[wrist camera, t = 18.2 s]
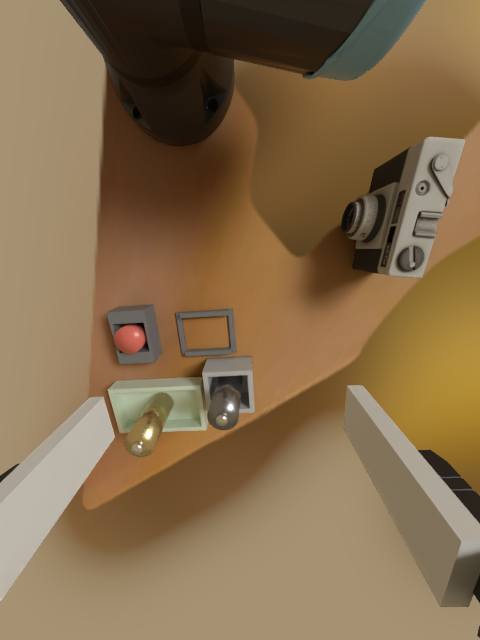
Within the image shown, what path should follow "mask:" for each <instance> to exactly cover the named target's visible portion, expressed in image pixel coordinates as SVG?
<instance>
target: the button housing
mask: <svg viewBox="0 0 480 640" xmlns="http://www.w3.org/2000/svg"><path fill="white" fill-rule="evenodd" d="M106 313H107V317H108V321H109V325H110V328H111V332H112V336H113V340H114V335H115V333H116V331H117V330H119V329H120V328H122V327H123V326H125V324H126V323H143V322H144V327H145V332H146V336H147V341H148V344H145V345H144V346H143V347H142V348H141V349H140V350H139V351H138V352H136V353H133V354H127V353H124V352H122V351H120V350H119V349H118V348H117V347H116V345H115V348H116V352H117V356H118V360H119V364H134V363H154V362H156V360H157V359H158V358H159V357H160V355H161V354H162V349H161V344H160V338H159V333H158V328H157V322H156V317H155V312H154V307H153V305H139V306H123V307H117V308H115V309H113V310H110V311H108V312H106ZM114 344H115V343H114Z"/></svg>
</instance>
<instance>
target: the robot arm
mask: <svg viewBox="0 0 480 640" xmlns="http://www.w3.org/2000/svg"><path fill="white" fill-rule="evenodd" d="M60 1H61V2H62V3H63V5H64V6H65V7H66V9H67V10H68V11H69V13H70V14H71V15H72V16H73V18H74V19H75V20H76V22H77V23H78V24H79V25H80V27H81V28H82V29H83V31H84V32H85V33H86V35H87V36H88V37H89V38H90V40H91V41H92V42H93V44H94V45H95V46H96V48H97V49H98V50H99V51H100V53H101V54H102V55H103V58H104V61H105V64H106V67H107V70H108V73H109V76H110V78H111V81H112V84H113V87H114V90H115V92H116V94H117V96H118V98H119V100H120V102H121V104H122V105H123V107H124V108H125V110H126V111H127V113H128V114H129V115H130V116H131V118H132V119H133V120H134V121H135V122H136V123H137V125H138V126H139V127H140V128H141V129H142V130H143V131H144V132H146V133H147V134H148V135H149V136H151V137H152V138H154V139H156V140H158V141H160V142H162V143H165V144H169V145H175V146H184V145H190V144H193V143H196V142H199V141H201V140H203V139H204V138H206V137H207V136H208V135H210V134H211V133H212V132H213V131H214V130H215V129H216V128H217V127H218V125H219V124H220V123H221V121H222V120H223V118H224V116H225V115H226V112H227V110H228V108H229V105H230V102H231V99H232V95H233V89H234V78H235V72H234V59H236V60H240V61H244V62H249V63H253V64H258V65H262V66H267V67H271V68H276V69H280V70H285V71H289V72H293V73H298V74H302V76H303V78H306V79H314V78H317V77H322V78H329V79H335V80H342V81H349V80H354V79H357V78H358V77H360V76H361V75H363V74H364V73H366V72H367V71H369V70H371V69H372V68H373V67H374V66H376V64H377V63H379V61H380V60H382V59H383V58H384V56H385V55H386V54H387V53H388V52H389V51H390V50H391V48H392V47H393V46H394V45H395V44H396V42H397V41H398V40H399V38H400V37H401V36H402V34H403V33H404V32H405V30H406V29H407V28H408V26H409V25H410V23H411V22H412V21H413V19H414V18H415V16H416V15H417V13H418V12H419V10H420V9H421V7H422V6H423V4H424V3H425V1H426V0H60ZM344 430H345V432H346V434H347V436H348V437H349V439H350V441H351V443H352V445H353V447H354V449H355V450H356V452H357V454H358V456H359V458H360V460H361V461H362V463H363V465H364V467H365V469H366V471H367V472H368V474H369V476H370V478H371V480H372V482H373V484H374V486H375V487H376V489H377V491H378V493H379V495H380V496H381V498H382V500H383V502H384V504H385V506H386V508H387V509H388V511H389V513H390V515H391V517H392V519H393V521H394V522H395V524H396V526H397V528H398V530H399V532H400V534H401V535H402V537H403V539H404V541H405V543H406V545H407V546H408V548H409V550H410V552H411V554H412V556H413V558H414V559H415V561H416V563H417V565H418V567H419V569H420V571H421V572H422V574H423V576H424V578H425V580H426V582H427V584H428V585H429V587H430V589H431V591H432V593H433V595H434V596H435V598H436V600H437V602H438V604H439V606H440V607H469V605H470V602H471V599H472V597H473V595H475V596H476V598H477V600H478V601H479V603H480V496H479V495H478V494H477V493H476V492H474V491H473V490H472V488H471V487H470V486H469V484H468V483H467V482H466V481H465V480H464V479H462V478H461V476H460V475H459V474H458V473H457V472H456V471H455V470H454V469H453V467H452V466H451V465H450V464H449V463H448V462H447V461H445V460H444V459H443V458H441V457H440V456H438V455H437V454H435V453H434V452H432V451H431V450H417V449H416V448H415V447H414V446H413V445H412V443H411V442H410V441H409V440H408V439H407V437H406V436H405V435H404V434H403V433H402V432H401V430H400V429H399V428H398V427H397V426H396V424H395V423H394V422H393V421H392V420H391V419H390V417H389V416H388V415H387V414H386V413H385V412H384V410H383V409H382V408H381V407H380V406H379V405H378V403H377V402H376V401H375V400H374V399H373V397H372V396H371V395H370V394H369V393H368V392H367V390H366V389H365V388H364V387H363V386H362V385H354V386H347V394H346V406H345V418H344ZM114 438H115V435H114V431H113V428H112V425H111V421H110V418H109V414H108V411H107V407H106V404H105V401H104V397H90V398H89V399H88V400H87V401H86V402H84V403H83V404H82V405H81V406H80V408H78V409H77V410H76V411H75V412H74V413H73V414H72V415H71V416H70V417H69V418H68V419H67V420H66V421H65V422H64V423H62V424H61V425H60V426H59V427H58V428H57V429H56V430H55V431H54V432H53V433H52V434H51V435H50V436H49V437H48V438H47V439H46V440H45V441H44V442H43V443H41V445H39V446H38V447H37V448H36V449H35V450H34V451H33V452H32V453H31V454H30V455H29V456H28V457H27V458H26V459H25V460H24V461H23V462H22V463H20V464H17V465H15V466H14V467H12V468H11V469H9V470H8V471H6V472H5V473H3V474H2V475H1V476H0V602H1V600H2V599H3V597H4V596H5V594H6V593H7V591H8V590H9V589H10V587H11V586H12V584H13V583H14V582H15V580H16V578H17V577H18V576H19V574H20V573H21V571H22V570H23V569H24V567H25V566H26V564H27V563H28V561H29V560H30V559H31V557H32V556H33V554H34V553H35V551H36V550H37V548H38V547H39V546H40V544H41V543H42V541H43V540H44V538H45V537H46V536H47V534H48V533H49V531H50V530H51V528H52V527H53V525H54V524H55V522H56V521H57V520H58V518H59V517H60V515H61V514H62V513H63V511H64V510H65V508H66V507H67V505H68V504H69V502H70V501H71V500H72V498H73V497H74V495H75V493H76V492H77V491H78V490H79V488H80V486H81V485H82V484H83V482H84V481H85V479H86V478H87V477H88V475H89V474H90V472H91V471H92V469H93V468H94V467H95V465H96V464H97V462H98V461H99V459H100V458H101V456H102V455H103V454H104V452H105V451H106V449H107V448H108V446H109V445H110V444H111V442H112V441H113V439H114ZM477 636H479V637H480V626H479V630H478V635H477Z"/></svg>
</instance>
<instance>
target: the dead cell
mask: <svg viewBox="0 0 480 640" xmlns="http://www.w3.org/2000/svg"><path fill="white" fill-rule="evenodd" d="M242 383H243V377H242V375H238V376H219V378H218V381H217V384H216V387H215V391H214V394H213V397H212V400H211V403H210V407H209V410H208V413H207V419H208V421H209V423H210V424H211V425H212V426H213V427H214V428H216V429H219V430H229V429H231V428H233V427H234V426H235V425H236V424H237V422H238V417H239V408H240V400H241V392H242Z"/></svg>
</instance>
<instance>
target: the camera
mask: <svg viewBox="0 0 480 640" xmlns="http://www.w3.org/2000/svg"><path fill="white" fill-rule="evenodd" d="M464 143H465V140H464V139H452V138H440V137H427V138H425V139H424V140H422V141H421V142H419V143H417V144H416V145H414V146H412V147H409V148H408V149H407V150H405V151H403V152H402V153H400V154H399V155H397V156H395V157H394V158H392V159H391V160H389V161H388V162H386V163H384V164H383V165H381V166H379V167H378V168H376V169H375V170H374V173H373V177H372V182H371V186H370V191H369V194H367V196H360V197H358V198H357V199H356V200H355V202H351V203H349V204H348V206H347V207H346V209H345V212H344V214H343V218H342V225H341V226H342V231H343V232H345V233H346V234H347V236H348V238H349V239H353V240H356V247H355V248H356V253H355V258H354V262H353V269H357V270H363V271H368V272H373V273H378V274H383V275H389V276H396V277H408V278H422V276H423V273H424V270H425V267H426V264H427V260H428V257H429V254H430V251H431V248H432V245H433V241H434V237H436V235H437V232H435V229H436V226H437V223H438V220H439V218H440V219H441V218H442V215H443V214H441V213H443V210H444V207H445V206H448V205H449V199H450V197H451V195H452V191H453V184H452V181H453V178H454V175H455V172H456V169H457V166H458V162H459V159H460V156H461V153H462V150H463V147H464Z"/></svg>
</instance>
